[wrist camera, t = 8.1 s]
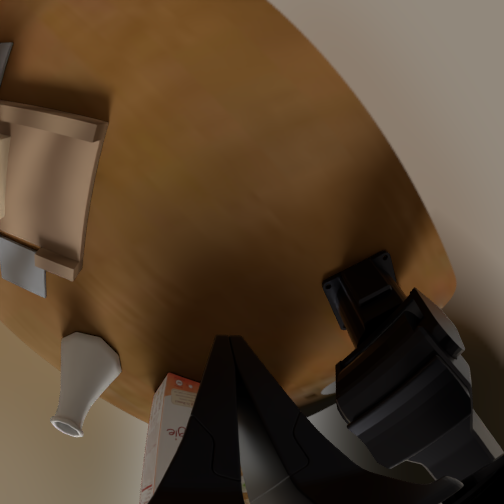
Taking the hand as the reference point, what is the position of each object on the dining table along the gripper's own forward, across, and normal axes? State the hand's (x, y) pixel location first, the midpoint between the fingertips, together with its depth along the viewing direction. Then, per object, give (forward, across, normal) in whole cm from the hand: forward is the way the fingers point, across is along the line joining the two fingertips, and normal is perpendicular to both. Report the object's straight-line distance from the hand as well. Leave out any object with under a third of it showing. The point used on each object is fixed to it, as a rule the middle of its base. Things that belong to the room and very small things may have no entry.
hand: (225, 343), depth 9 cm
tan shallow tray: (+15, +22, 0) cm, 26 cm away
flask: (+13, +11, +19) cm, 26 cm away
